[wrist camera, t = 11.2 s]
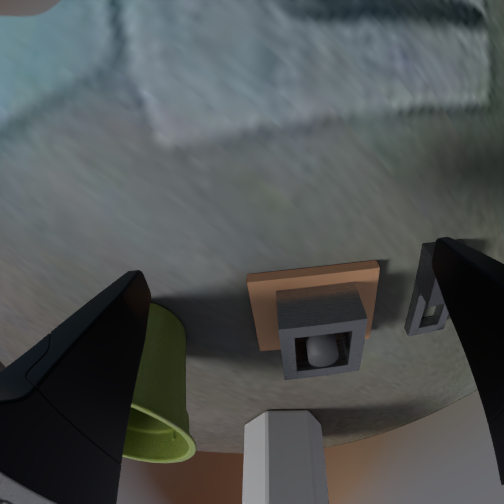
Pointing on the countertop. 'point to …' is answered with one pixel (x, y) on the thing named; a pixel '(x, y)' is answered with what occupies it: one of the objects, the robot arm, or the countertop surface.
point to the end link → (320, 327)
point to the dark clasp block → (426, 297)
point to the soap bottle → (284, 459)
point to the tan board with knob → (266, 285)
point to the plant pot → (160, 395)
